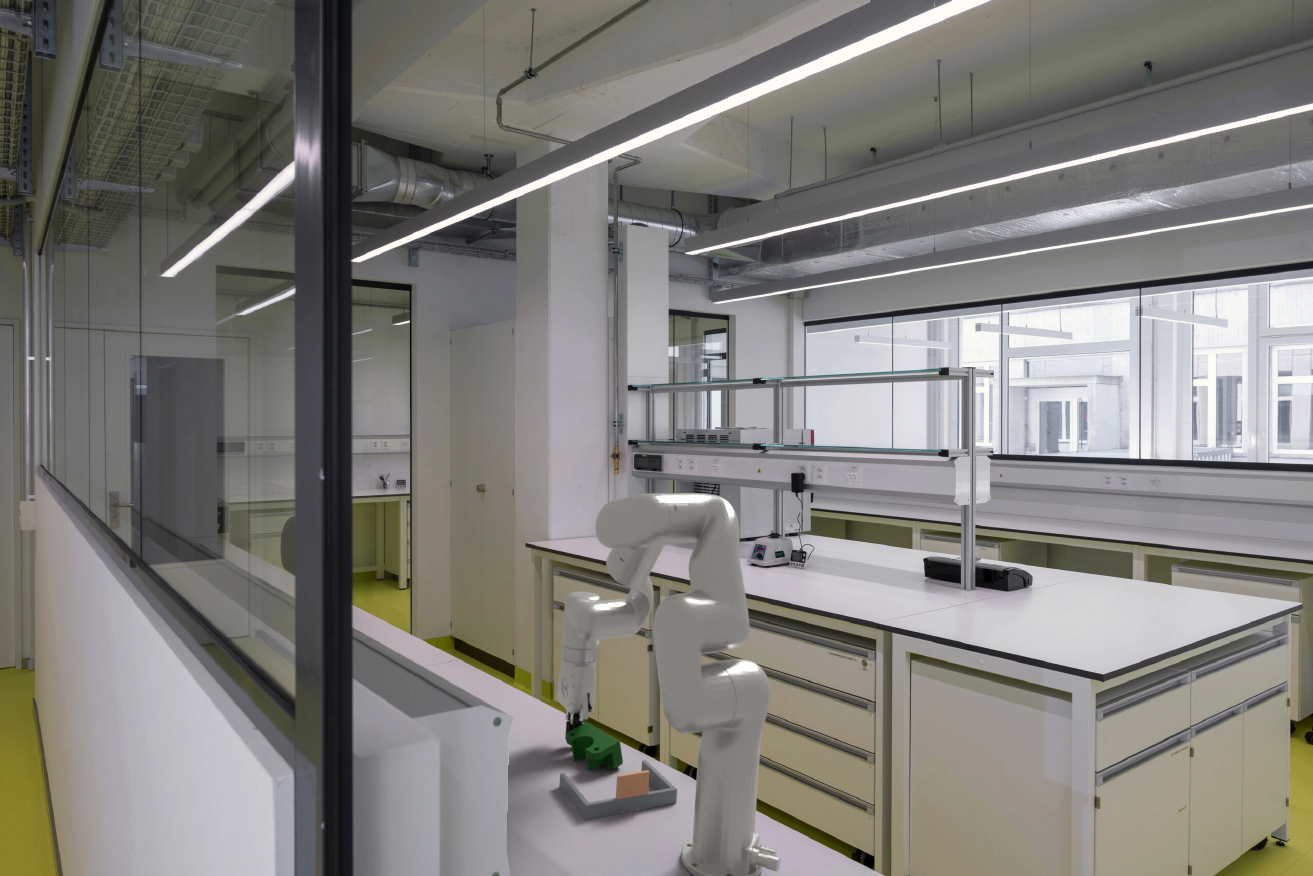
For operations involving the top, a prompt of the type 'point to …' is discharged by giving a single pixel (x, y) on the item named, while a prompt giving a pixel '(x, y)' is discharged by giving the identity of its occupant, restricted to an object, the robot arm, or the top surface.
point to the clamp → (594, 746)
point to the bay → (624, 794)
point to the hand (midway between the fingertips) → (573, 740)
